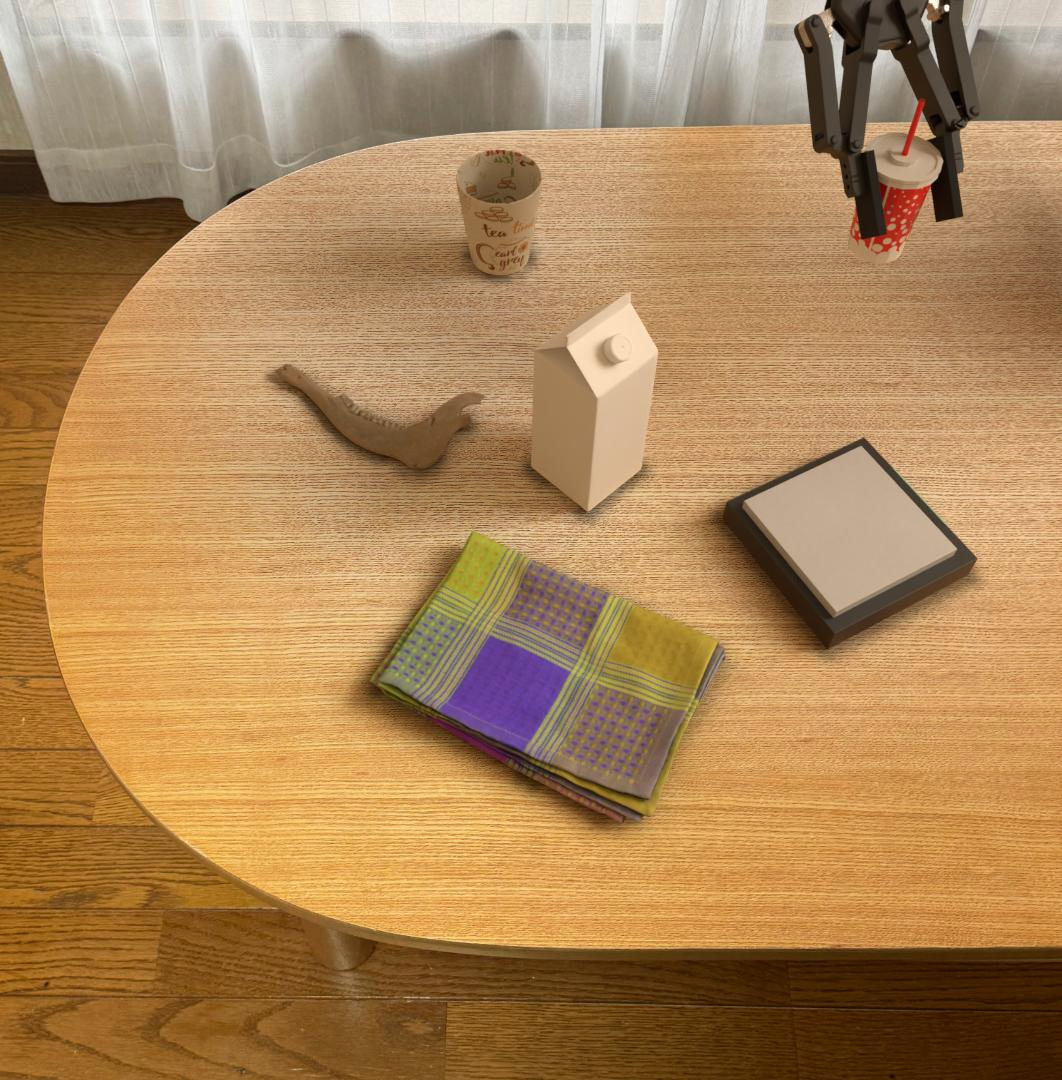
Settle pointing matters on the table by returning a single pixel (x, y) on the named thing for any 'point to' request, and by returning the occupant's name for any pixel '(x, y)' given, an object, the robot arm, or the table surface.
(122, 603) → the table surface
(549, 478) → the milk carton
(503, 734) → the dish towel
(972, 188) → the table surface
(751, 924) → the table surface
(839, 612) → the kitchen scale
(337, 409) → the jawbone
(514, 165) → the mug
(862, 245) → the beverage cup
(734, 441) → the table surface
